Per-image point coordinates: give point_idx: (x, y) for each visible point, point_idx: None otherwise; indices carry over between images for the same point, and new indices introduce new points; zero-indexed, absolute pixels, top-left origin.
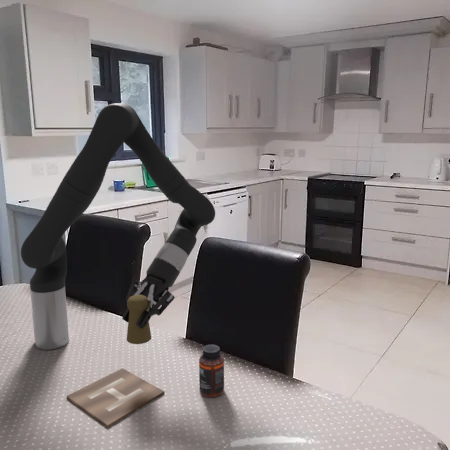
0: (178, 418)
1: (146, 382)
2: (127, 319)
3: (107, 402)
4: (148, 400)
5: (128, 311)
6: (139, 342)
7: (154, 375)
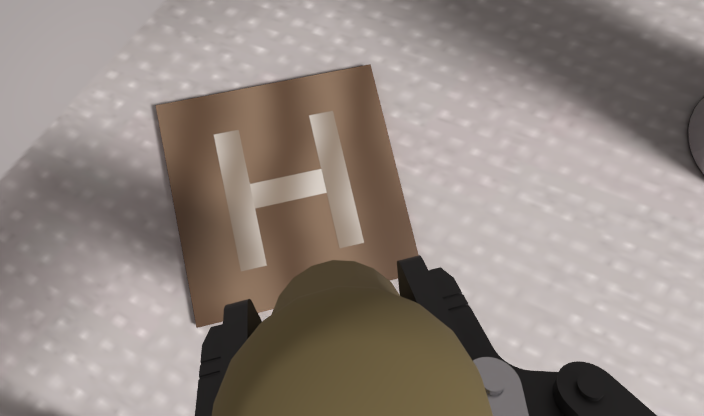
0: (53, 297)
1: None
2: (404, 292)
3: (259, 148)
4: (185, 257)
5: None
6: (276, 303)
7: None
